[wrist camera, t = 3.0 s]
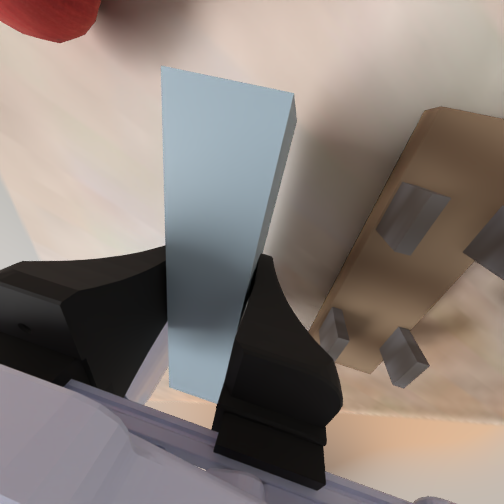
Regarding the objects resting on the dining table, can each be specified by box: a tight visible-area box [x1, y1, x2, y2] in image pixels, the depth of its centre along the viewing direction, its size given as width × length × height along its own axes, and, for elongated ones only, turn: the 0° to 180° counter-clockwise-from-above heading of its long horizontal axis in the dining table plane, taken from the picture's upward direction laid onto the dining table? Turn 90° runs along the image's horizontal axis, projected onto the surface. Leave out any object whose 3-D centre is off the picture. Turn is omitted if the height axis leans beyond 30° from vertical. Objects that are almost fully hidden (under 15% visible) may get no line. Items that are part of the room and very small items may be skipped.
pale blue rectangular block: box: [161, 66, 297, 404], centre depth 10 cm, size 14×4×6 cm, turn 169°
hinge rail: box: [309, 106, 504, 388], centre depth 14 cm, size 20×6×4 cm, turn 169°
